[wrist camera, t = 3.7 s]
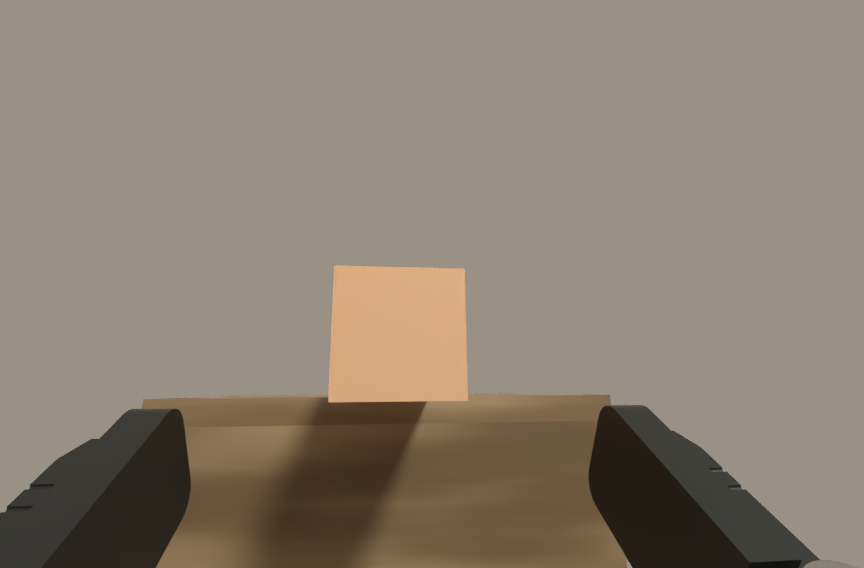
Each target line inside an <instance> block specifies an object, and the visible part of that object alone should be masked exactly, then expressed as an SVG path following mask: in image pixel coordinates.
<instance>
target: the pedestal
mask: <svg viewBox="0 0 864 568" xmlns="http://www.w3.org/2000/svg"><path fill="white" fill-rule="evenodd" d="M328 396H329V395H272V396H271V395H269V396H268V395H266V396H234V397H233V396H230V397H201V398H171V399H144V400H143V405H142V409H178V410H179V411H180V412H181V414H182V416H183V420H184V428H185V436H186V444H187V452H188V461H189V469H190V477H191V490H190V497H189V502H188V506H187V509H186V512H185V514H184V516H183V519H182V520H181V522H180V524H179V526H178V528H177V530H176V531H175V533H174V535H173V537H172V539H171V541H170V542H169V544H168V546H167V548H166V550H165V552H164V553H163V555H162V557H161V559H160V561H159V563H158V564H157V566H156V568H627V564H626V556H625V554H624V552H623V551H622V549H621V547H620V546H619V544H618V542H617V541H616V539H615V537H614V535H613V534H612V532H611V530H610V529H609V527H608V525H607V524H606V522H605V520H604V519H603V517H602V515H601V514H600V512H599V510H598V508H597V507H596V505H595V503H594V501H593V498H592V495H591V492H590V487H589V478H588V474H589V466H590V460H591V455H592V449H593V444H594V439H595V433H596V428H597V422H598V417H599V413H600V411H601V409H602V408H603V407H604V406H611V402H610V395H577V394H574V395H573V394H512V393H511V394H510V393H498V394H497V393H492V394H468V401H411V402H328Z"/></svg>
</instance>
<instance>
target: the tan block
mask: <svg viewBox="0 0 864 568" xmlns="http://www.w3.org/2000/svg"><path fill="white" fill-rule="evenodd" d="M465 303H466V302H465V269H456V268H415V267H372V266H334V286H333V307H332V329H331V352H330V353H331V354H330V374H329V396H328V402H411V401H468V382H467V380H468V379H467V343H466V304H465Z"/></svg>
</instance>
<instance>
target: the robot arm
mask: <svg viewBox="0 0 864 568" xmlns="http://www.w3.org/2000/svg"><path fill="white" fill-rule="evenodd" d="M588 478H589V487H590V492H591V495H592V498H593V501H594V503H595V505H596V507H597V508H598V510H599V512H600V514H601V515H602V517H603V519H604V520H605V522H606V524H607V525H608V527H609V529H610V530H611V532H612V534H613V535H614V537H615V539H616V541H617V542H618V544H619V546H620V547H621V549H622V551H623V552H624V554H625V556H626V557H627V559H628V561H629V562H630V564H631V566H632V567H633V568H857V567H854V566H851V565H848V564H844V563H840V562H835V561H829V560H820V559H818V558H817V557H816V556H815V555H814V554H813V553H812V552H811V551H810V550H809V549H808V548H807V547H806V546H805V545H804V544H803V543H802V542H801V541H799V540H798V539H797V538H796V537H795V536H794V535H793V534H792V533H791V532H790V531H789V530H788V529H787V528H786V527H785V526H783V524H781V523H780V522H779V521H778V520H777V519H776V518H775V517H774V516H773V515H772V514H771V513H770V512H769V511H768V510H767V509H766V508H764V507H763V506H762V505H761V504H760V503H759V502H758V501H757V500H756V499H755V498H754V497H753V496H752V495H751V494H750V493H749V492H747V491H746V490H742V489H741V485H740V484H739V483H738V482H737V481H736V480H735V479H734V478H733V477H732V476H730V475H729V474H728V473H727V472H723V471H722V467H721V466H720V465H719V464H718V463H717V462H716V461H715V460H714V459H713V458H711V457H710V456H709V455H708V454H707V453H706V452H705V451H704V450H703V449H702V448H701V447H699V446H698V445H696V444H694V443H693V442H691V441H689V440H688V439H686V438H684V437H683V436H681V435H679V434H678V433H676V432H674V431H671V430H670V429H669V428H668V427H667V426H666V425H665V424H664V423H663V422H662V421H660V419H659V418H658V417H657V416H655V415H654V414H653V413H652V412H651V411H650V410H649V409H648V408H647V407H645V406H642V405H618V406H617V405H615V406H604V407H603V408H602V409H601V411H600V413H599V417H598V422H597V428H596V433H595V439H594V444H593V449H592V455H591V460H590V466H589V474H588ZM190 490H191V477H190V469H189V461H188V452H187V444H186V436H185V428H184V420H183V416H182V414H181V412H180V411H179V410H178V409H131V410H128V411H127V412H126V413H125V414H123V415H122V416H121V417H120V418H119V419H118V420H117V421H116V423H115V424H114V425H113V426H112V427H111V428H110V429H109V430H108V431H107V432H106V433H105V434H104V435H103V436H102V437H101V438H100V439H91V440H89V441H87V442H86V443H84V444H82V445H80V446H79V447H77V448H75V449H74V450H72V451H70V452H69V453H67V454H65V455H64V456H62V457H60V458H59V459H57V460H56V461H55V462H54V463H53V464H52V465H51V466H49V467H48V469H46V470H45V471H44V472H43V473H42V474H41V475H40V476H39V477H38V478H37V479H36V480H35V481H34V482H33V483H31V484H30V489H29V490H24V491H23V492H22V493H21V494H20V495H19V496H18V497H17V498H16V499H15V500H14V501H12V502H11V504H9V505H8V506H7V511H6V512H5V513H0V568H156V566H157V564H158V563H159V561H160V559H161V557H162V555H163V553H164V552H165V550H166V548H167V546H168V544H169V542H170V541H171V539H172V537H173V535H174V533H175V531H176V530H177V528H178V526H179V524H180V522H181V520H182V519H183V516H184V514H185V512H186V509H187V506H188V502H189V497H190Z"/></svg>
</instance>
